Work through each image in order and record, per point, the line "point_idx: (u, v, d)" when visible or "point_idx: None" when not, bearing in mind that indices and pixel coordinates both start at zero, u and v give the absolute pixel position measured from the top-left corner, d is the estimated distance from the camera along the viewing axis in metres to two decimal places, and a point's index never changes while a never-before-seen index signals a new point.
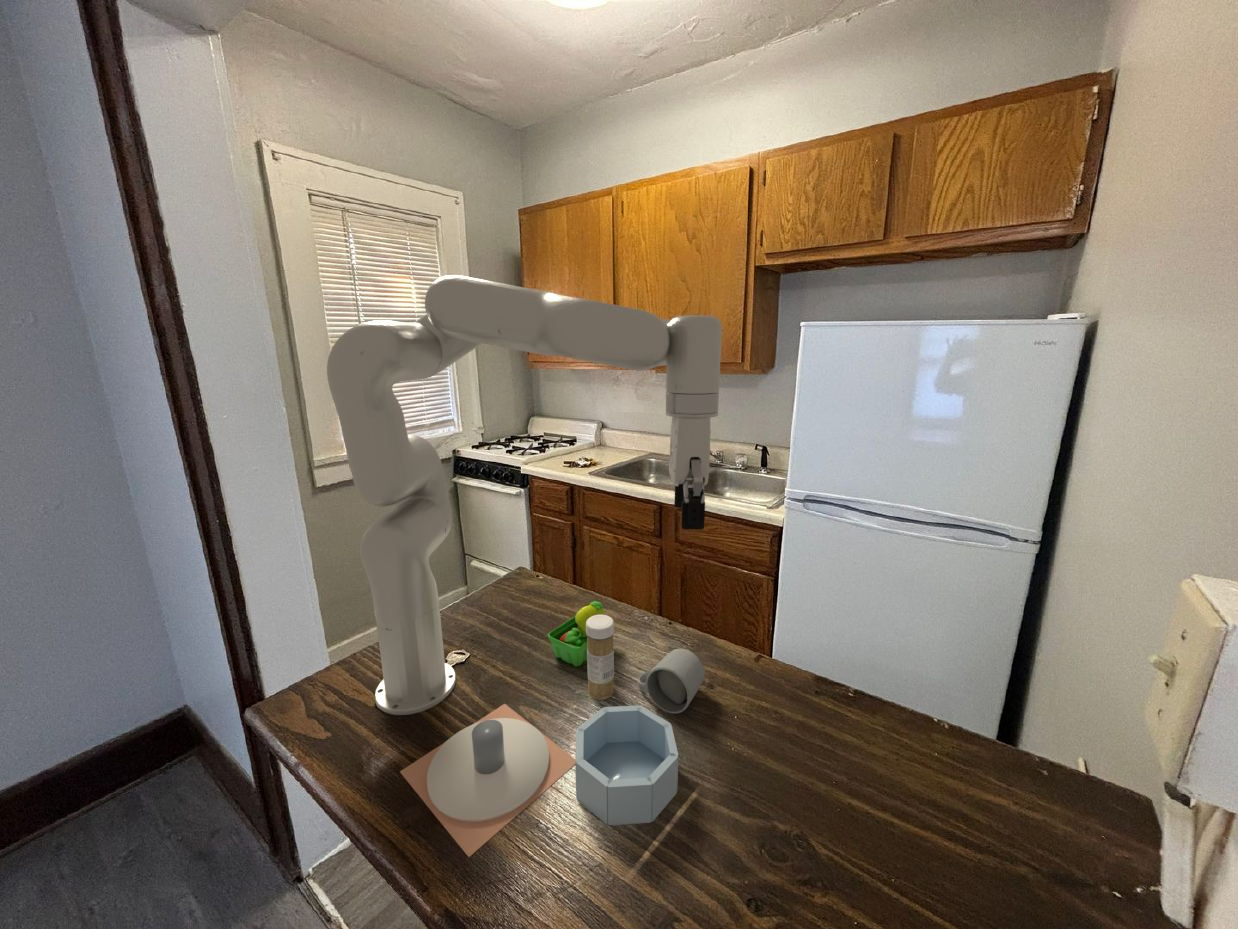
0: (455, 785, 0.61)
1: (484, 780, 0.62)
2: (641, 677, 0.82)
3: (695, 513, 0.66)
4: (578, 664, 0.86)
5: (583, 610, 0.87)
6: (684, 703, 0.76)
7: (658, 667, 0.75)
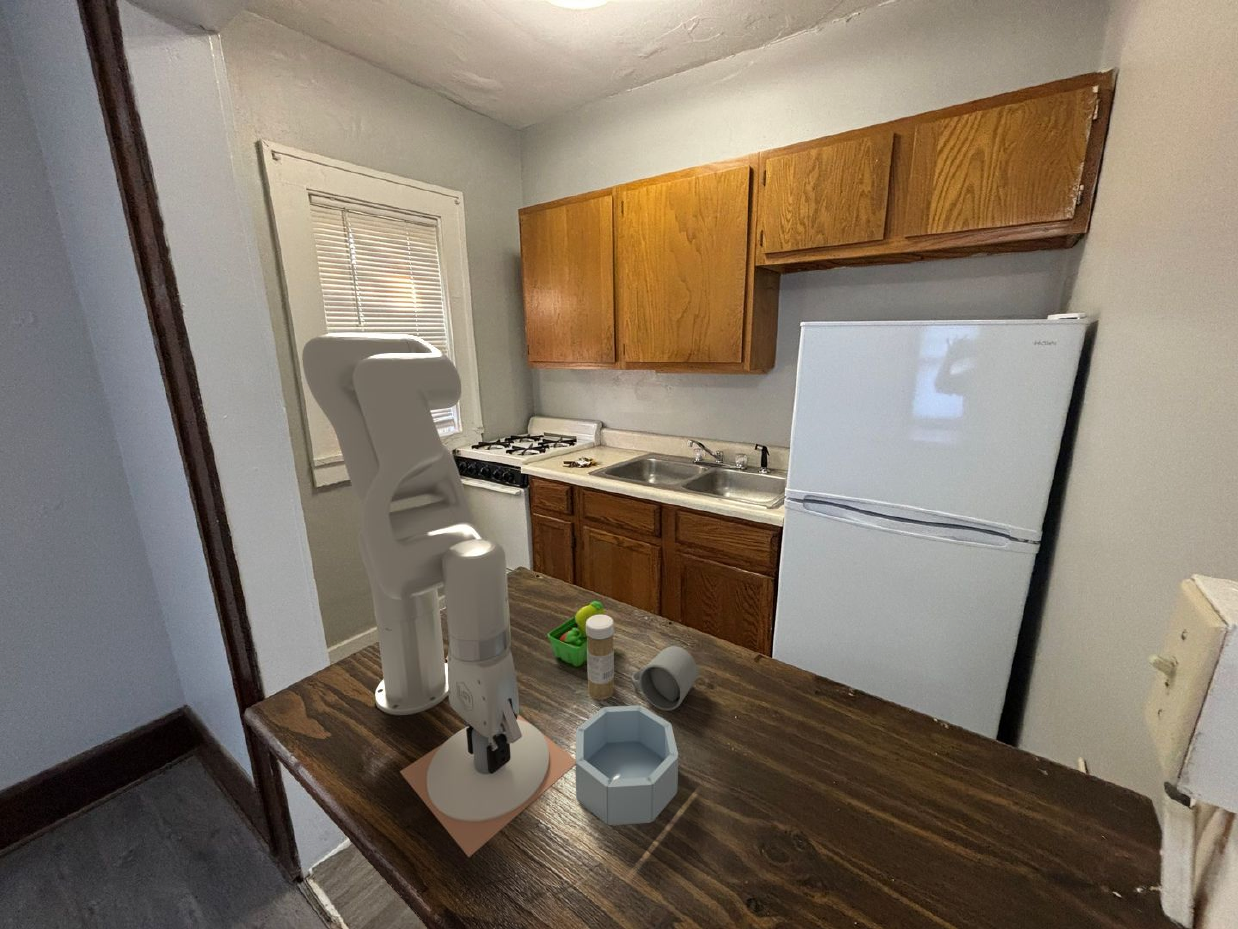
0: (455, 785, 0.61)
1: (484, 780, 0.62)
2: (635, 674, 0.82)
3: (503, 753, 0.62)
4: (578, 664, 0.86)
5: (583, 610, 0.87)
6: (677, 700, 0.77)
7: (651, 664, 0.76)
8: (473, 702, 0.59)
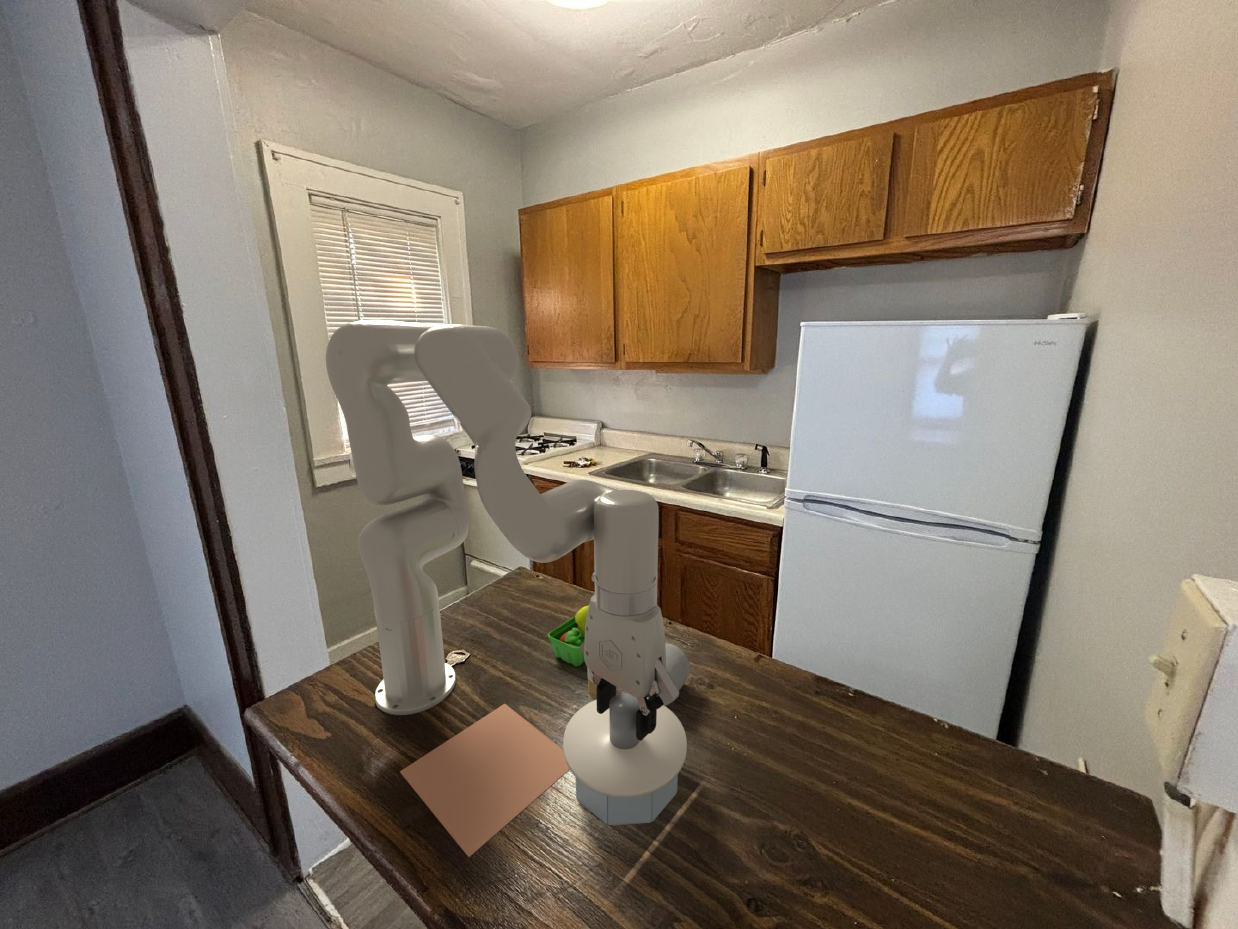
0: (597, 760, 0.58)
1: (625, 755, 0.59)
2: None
3: (653, 718, 0.58)
4: (578, 664, 0.86)
5: (583, 610, 0.87)
6: None
7: None
8: (623, 660, 0.56)
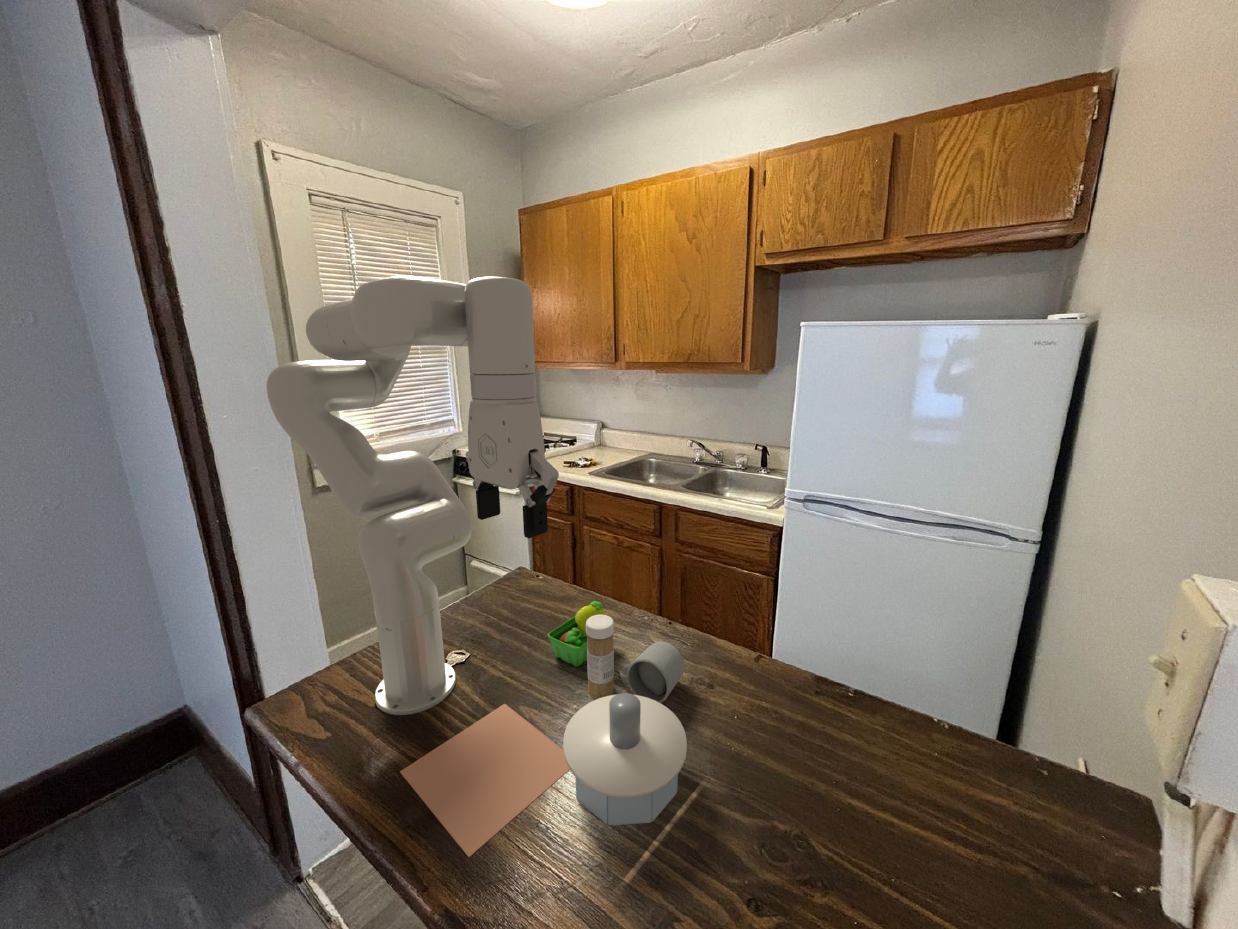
0: (597, 760, 0.58)
1: (625, 755, 0.59)
2: (623, 670, 0.84)
3: (541, 515, 0.56)
4: (578, 664, 0.86)
5: (583, 610, 0.87)
6: (664, 694, 0.78)
7: (639, 659, 0.77)
8: (497, 451, 0.55)
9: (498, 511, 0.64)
